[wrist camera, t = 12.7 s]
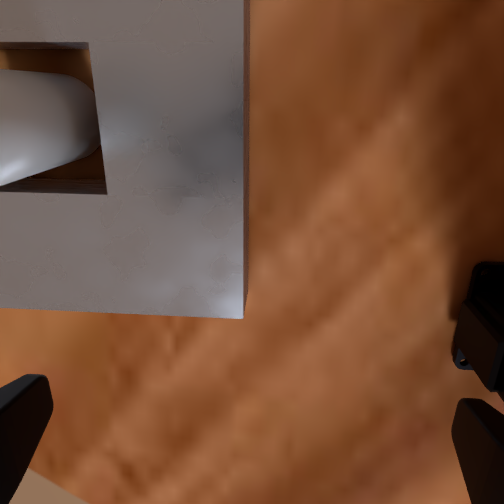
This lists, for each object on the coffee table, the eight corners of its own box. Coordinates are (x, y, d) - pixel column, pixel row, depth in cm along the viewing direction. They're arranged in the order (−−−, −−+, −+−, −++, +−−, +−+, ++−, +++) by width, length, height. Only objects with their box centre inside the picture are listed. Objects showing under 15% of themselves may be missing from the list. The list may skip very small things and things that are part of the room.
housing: (250, -123, 16) (243, -168, 13) (248, 290, 22) (243, 318, 20) (-180, -113, 17) (-272, -153, 14) (-60, 277, 24) (-105, 302, 21)
